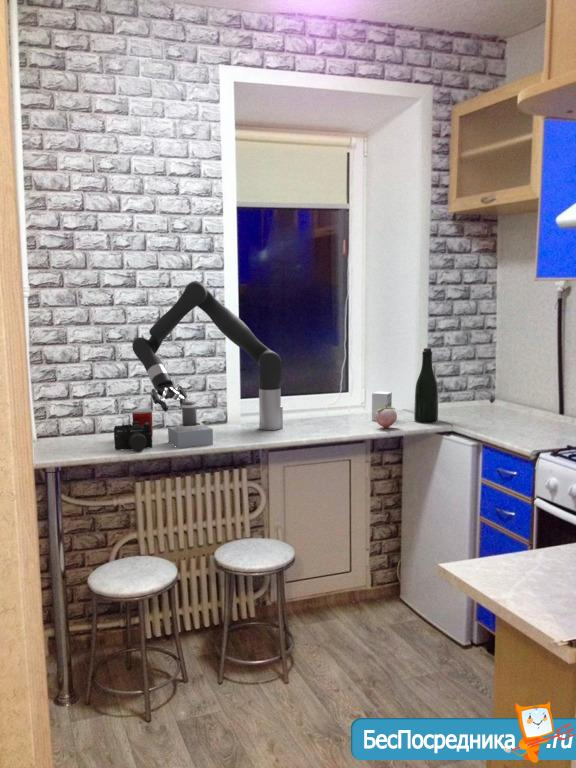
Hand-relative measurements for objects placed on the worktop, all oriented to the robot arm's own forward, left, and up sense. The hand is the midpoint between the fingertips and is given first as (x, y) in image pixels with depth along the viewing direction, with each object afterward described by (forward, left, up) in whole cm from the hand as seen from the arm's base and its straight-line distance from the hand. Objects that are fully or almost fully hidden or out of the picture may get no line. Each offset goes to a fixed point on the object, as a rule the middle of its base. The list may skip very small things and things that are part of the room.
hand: (176, 409), depth 267 cm
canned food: (+10, -12, -13) cm, 20 cm away
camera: (+19, +9, -13) cm, 25 cm away
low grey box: (-3, +9, -12) cm, 15 cm away
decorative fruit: (-86, +21, -13) cm, 89 cm away
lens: (-2, +9, -6) cm, 11 cm away
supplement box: (-96, +4, -13) cm, 96 cm away
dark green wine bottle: (-111, +17, -13) cm, 113 cm away
